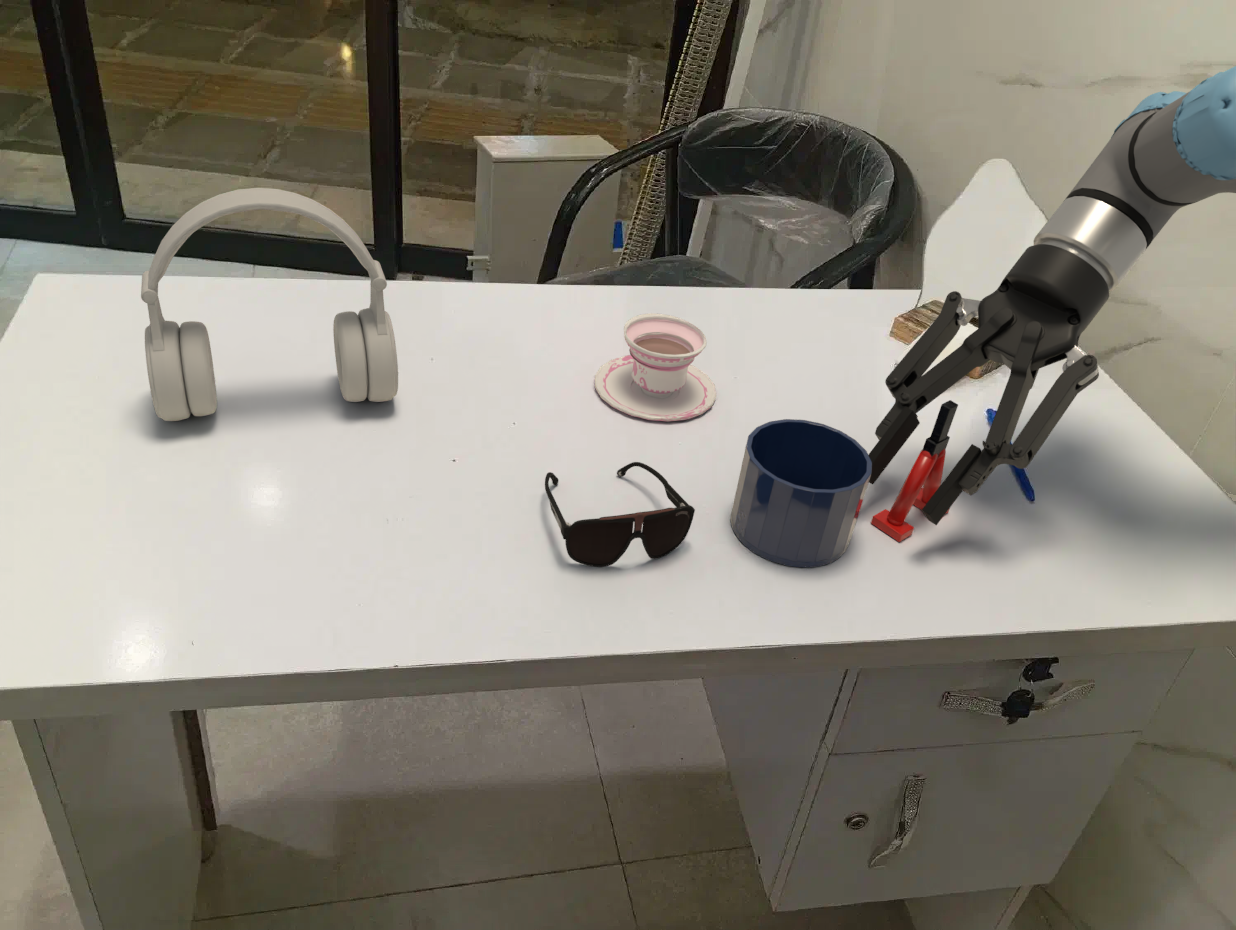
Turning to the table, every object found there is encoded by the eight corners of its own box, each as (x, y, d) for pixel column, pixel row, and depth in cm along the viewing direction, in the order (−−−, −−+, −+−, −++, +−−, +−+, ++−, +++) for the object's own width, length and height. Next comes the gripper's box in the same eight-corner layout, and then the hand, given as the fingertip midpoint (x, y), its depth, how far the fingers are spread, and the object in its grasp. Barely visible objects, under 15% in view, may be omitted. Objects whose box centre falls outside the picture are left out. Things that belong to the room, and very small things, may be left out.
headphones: (386, 370, 95) (379, 173, 84) (401, 418, 89) (396, 212, 78) (159, 389, 89) (118, 178, 77) (158, 442, 82) (113, 221, 71)
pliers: (948, 512, 86) (991, 400, 79) (899, 542, 82) (940, 426, 75) (919, 494, 88) (959, 383, 81) (870, 523, 84) (907, 408, 77)
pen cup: (872, 538, 82) (897, 465, 78) (795, 584, 76) (817, 508, 72) (784, 478, 88) (802, 406, 83) (706, 517, 82) (721, 442, 78)
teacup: (739, 410, 96) (750, 354, 92) (631, 434, 91) (639, 375, 87) (675, 351, 104) (683, 298, 101) (573, 369, 99) (578, 314, 95)
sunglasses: (568, 581, 74) (571, 524, 71) (526, 500, 83) (527, 448, 81) (698, 560, 77) (705, 505, 75) (643, 485, 87) (647, 434, 84)
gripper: (1182, 339, 78) (1003, 573, 78) (978, 250, 89) (821, 456, 89) (1183, 292, 72) (988, 546, 72) (964, 203, 83) (795, 424, 83)
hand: (896, 496), depth 80 cm, fingers open, 6 cm apart
